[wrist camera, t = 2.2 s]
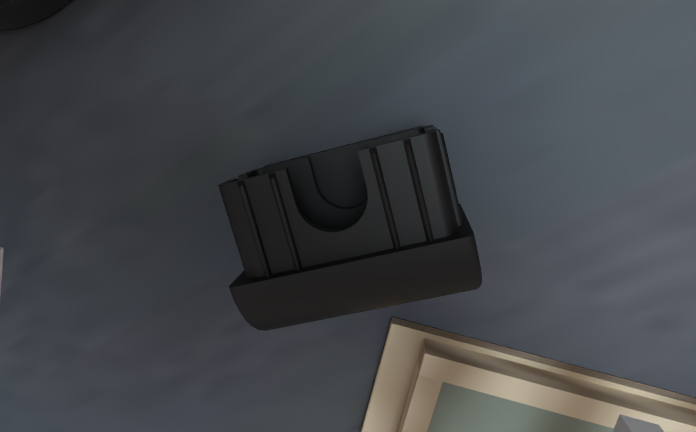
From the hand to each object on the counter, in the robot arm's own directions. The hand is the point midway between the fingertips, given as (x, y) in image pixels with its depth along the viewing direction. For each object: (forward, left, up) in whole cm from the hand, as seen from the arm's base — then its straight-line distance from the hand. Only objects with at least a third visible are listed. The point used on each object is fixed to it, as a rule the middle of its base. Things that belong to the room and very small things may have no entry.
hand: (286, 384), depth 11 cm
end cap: (0, 0, -16) cm, 16 cm away
